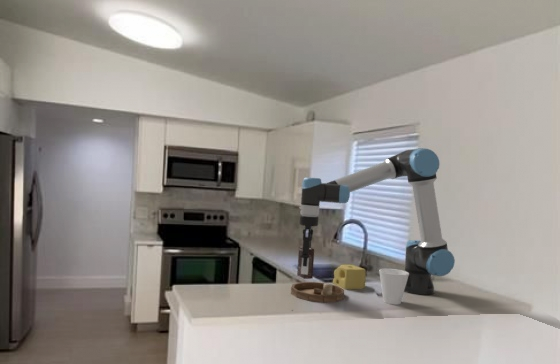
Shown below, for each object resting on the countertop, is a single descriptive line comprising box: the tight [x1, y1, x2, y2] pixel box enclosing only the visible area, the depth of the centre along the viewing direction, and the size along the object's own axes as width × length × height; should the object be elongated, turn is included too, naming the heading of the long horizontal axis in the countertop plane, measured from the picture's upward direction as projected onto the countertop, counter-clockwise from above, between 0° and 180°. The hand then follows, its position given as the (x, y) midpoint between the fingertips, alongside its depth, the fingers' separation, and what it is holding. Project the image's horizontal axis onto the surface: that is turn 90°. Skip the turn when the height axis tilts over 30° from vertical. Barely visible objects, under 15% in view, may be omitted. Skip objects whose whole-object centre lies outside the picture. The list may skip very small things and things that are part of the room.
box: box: [296, 246, 315, 280], centre depth 173 cm, size 6×4×12 cm
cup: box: [378, 268, 409, 306], centre depth 174 cm, size 12×12×12 cm
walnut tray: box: [290, 281, 345, 303], centre depth 173 cm, size 21×21×4 cm
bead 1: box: [323, 282, 333, 289], centre depth 176 cm, size 4×4×4 cm
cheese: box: [332, 264, 367, 290], centre depth 191 cm, size 10×11×10 cm
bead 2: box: [322, 288, 332, 295], centre depth 168 cm, size 4×4×4 cm
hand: (305, 272), depth 173 cm, fingers closed on box, 7 cm apart
